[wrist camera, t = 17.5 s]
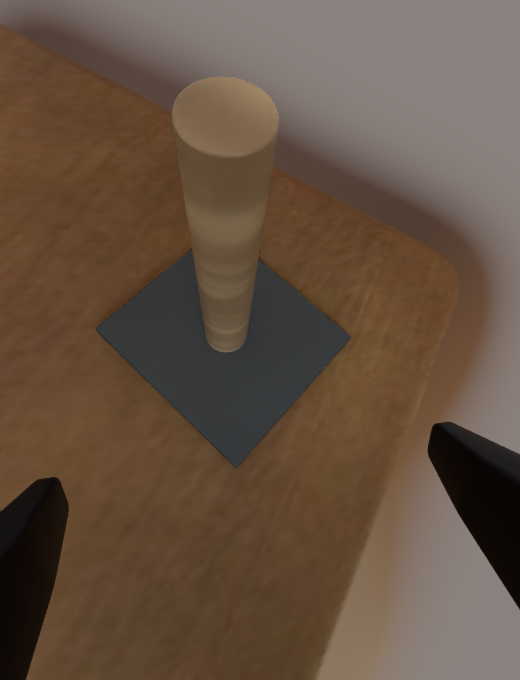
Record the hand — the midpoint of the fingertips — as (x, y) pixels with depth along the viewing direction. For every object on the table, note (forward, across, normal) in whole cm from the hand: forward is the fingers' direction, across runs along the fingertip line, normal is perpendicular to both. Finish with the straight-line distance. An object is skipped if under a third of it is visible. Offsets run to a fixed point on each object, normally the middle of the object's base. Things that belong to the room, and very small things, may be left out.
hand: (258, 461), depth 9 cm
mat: (+13, 0, +3) cm, 14 cm away
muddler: (+13, 0, +2) cm, 13 cm away
